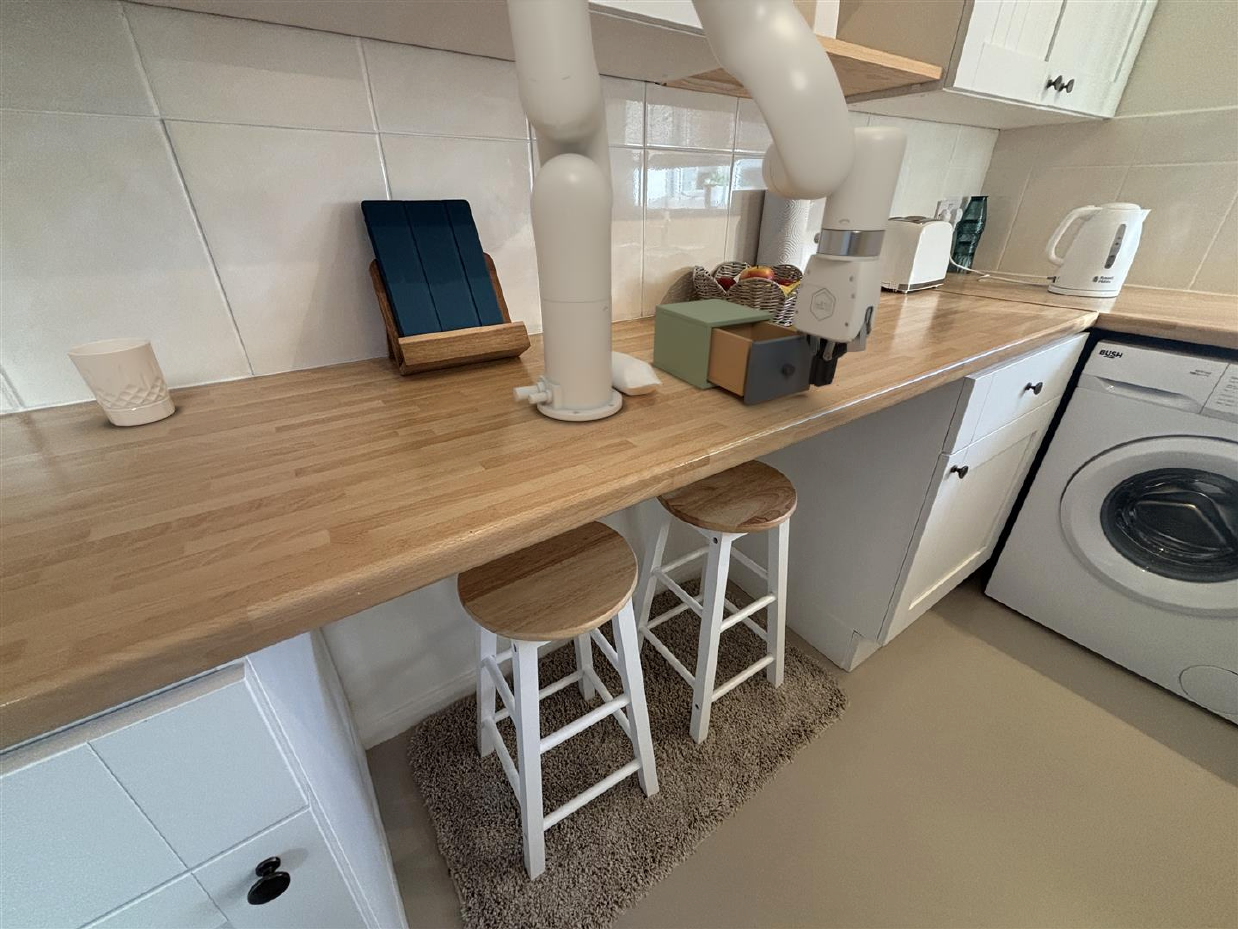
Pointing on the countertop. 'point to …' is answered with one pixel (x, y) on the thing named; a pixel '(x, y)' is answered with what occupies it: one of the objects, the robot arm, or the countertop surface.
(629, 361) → the white pouch
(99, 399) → the white cup
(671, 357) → the cabinet
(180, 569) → the countertop surface
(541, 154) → the robot arm
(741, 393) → the drawer
